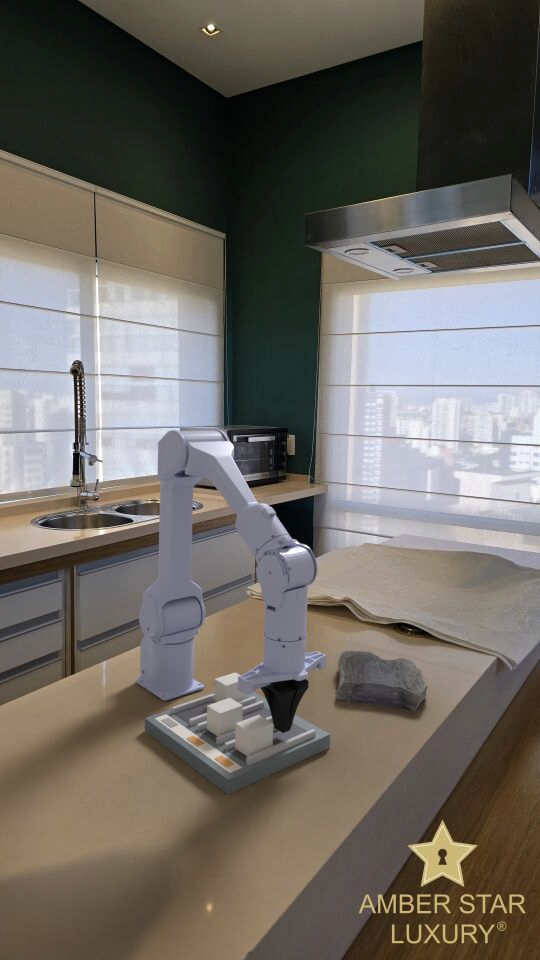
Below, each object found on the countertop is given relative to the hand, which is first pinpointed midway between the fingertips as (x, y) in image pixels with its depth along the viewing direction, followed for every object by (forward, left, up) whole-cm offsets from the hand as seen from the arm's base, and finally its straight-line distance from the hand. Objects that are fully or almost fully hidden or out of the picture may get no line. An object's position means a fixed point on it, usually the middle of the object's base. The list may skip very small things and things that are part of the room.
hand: (282, 728), depth 92 cm
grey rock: (-5, +27, -4) cm, 28 cm away
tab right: (0, -5, -1) cm, 5 cm away
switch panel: (-6, -3, -3) cm, 8 cm away
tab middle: (-6, -5, -1) cm, 8 cm away
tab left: (-13, +1, -1) cm, 13 cm away
